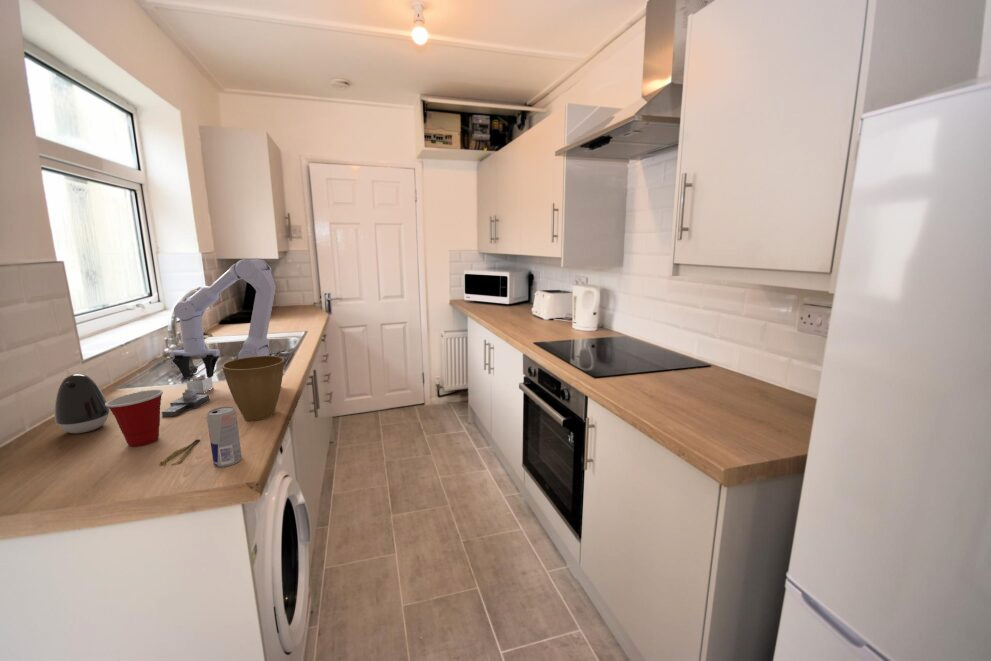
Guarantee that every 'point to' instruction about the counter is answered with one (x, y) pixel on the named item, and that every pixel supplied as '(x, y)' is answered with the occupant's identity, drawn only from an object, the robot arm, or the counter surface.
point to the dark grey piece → (185, 403)
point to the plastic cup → (138, 416)
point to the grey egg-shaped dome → (80, 405)
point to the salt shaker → (191, 368)
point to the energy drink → (224, 436)
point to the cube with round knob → (200, 383)
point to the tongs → (179, 453)
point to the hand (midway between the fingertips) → (198, 377)
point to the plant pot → (255, 384)
